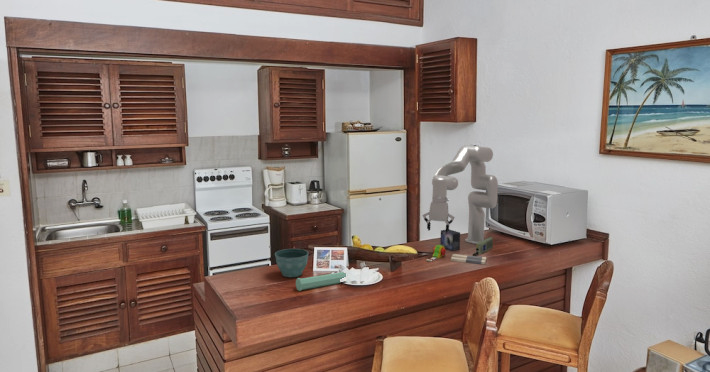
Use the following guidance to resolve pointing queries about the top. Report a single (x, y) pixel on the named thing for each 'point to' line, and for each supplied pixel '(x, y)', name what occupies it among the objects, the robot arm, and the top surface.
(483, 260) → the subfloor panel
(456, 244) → the small box
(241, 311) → the top surface
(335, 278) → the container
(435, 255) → the toy measuring tape
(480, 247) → the handheld radio
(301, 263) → the flower pot
